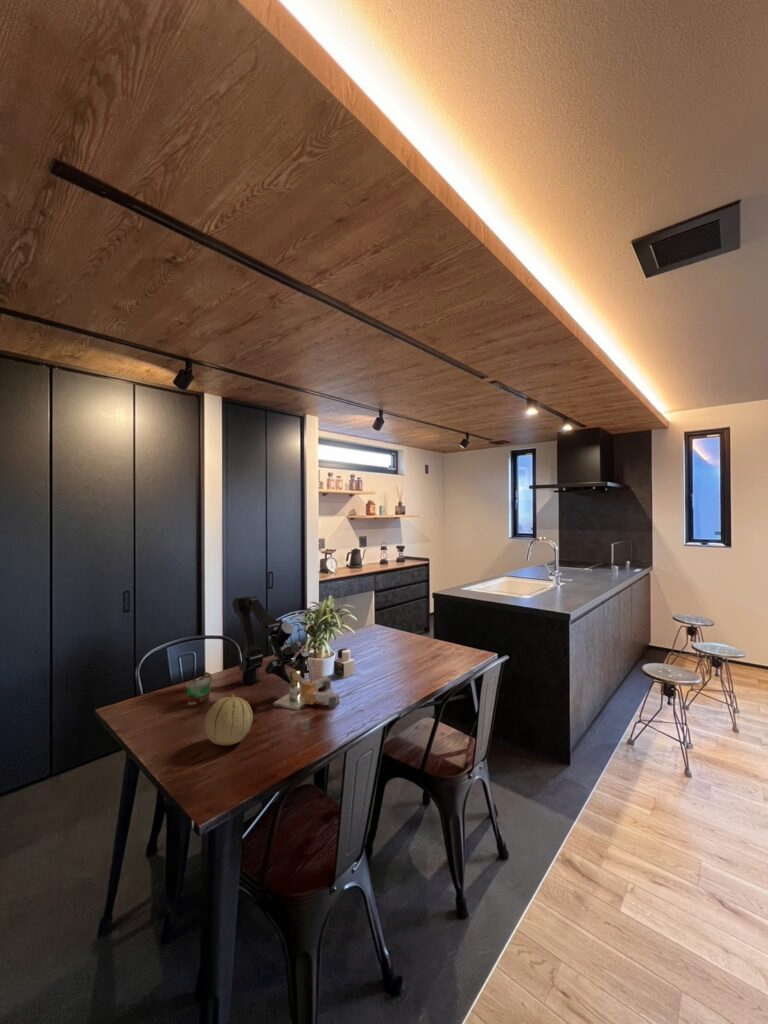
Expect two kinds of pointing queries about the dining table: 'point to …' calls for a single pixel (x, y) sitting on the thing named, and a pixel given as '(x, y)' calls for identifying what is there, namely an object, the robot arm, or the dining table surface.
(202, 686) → the food container
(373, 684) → the dining table surface
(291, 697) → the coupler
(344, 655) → the medicine bottle
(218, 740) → the cantaloupe
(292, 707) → the stand
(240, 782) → the dining table surface
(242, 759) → the dining table surface
